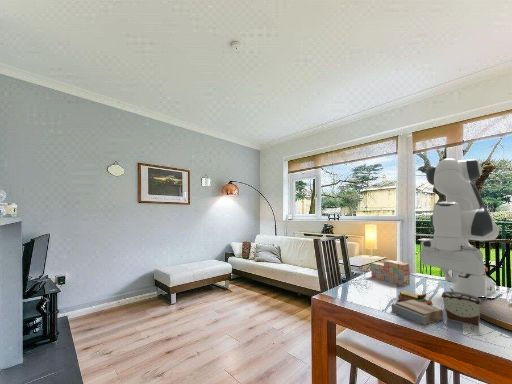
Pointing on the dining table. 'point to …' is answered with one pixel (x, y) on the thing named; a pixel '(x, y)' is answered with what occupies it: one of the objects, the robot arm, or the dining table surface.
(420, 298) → the toy sandwich meal
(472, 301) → the food container
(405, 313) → the corner jig
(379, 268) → the stack of blocks
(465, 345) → the dining table surface
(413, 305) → the walnut slab
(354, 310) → the dining table surface
